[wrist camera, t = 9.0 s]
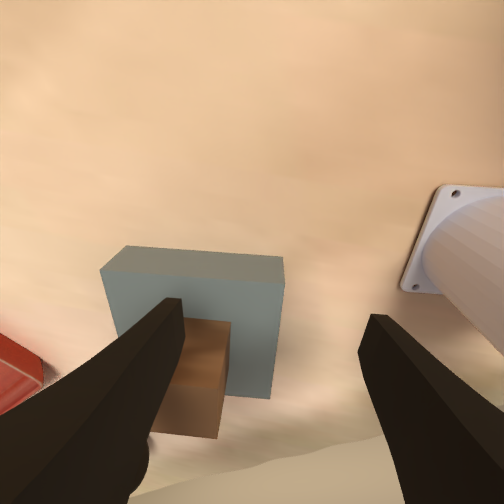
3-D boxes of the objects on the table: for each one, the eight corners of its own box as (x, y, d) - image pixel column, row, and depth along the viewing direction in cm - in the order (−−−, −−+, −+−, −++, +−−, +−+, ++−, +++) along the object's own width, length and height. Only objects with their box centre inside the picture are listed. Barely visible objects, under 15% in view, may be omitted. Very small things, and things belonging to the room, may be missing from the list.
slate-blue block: (282, 253, 20) (284, 283, 16) (269, 359, 25) (269, 399, 22) (129, 242, 20) (99, 269, 17) (151, 349, 26) (131, 386, 22)
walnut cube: (230, 321, 18) (217, 388, 14) (228, 368, 20) (217, 439, 16) (160, 314, 18) (124, 378, 14) (166, 362, 20) (138, 430, 16)
